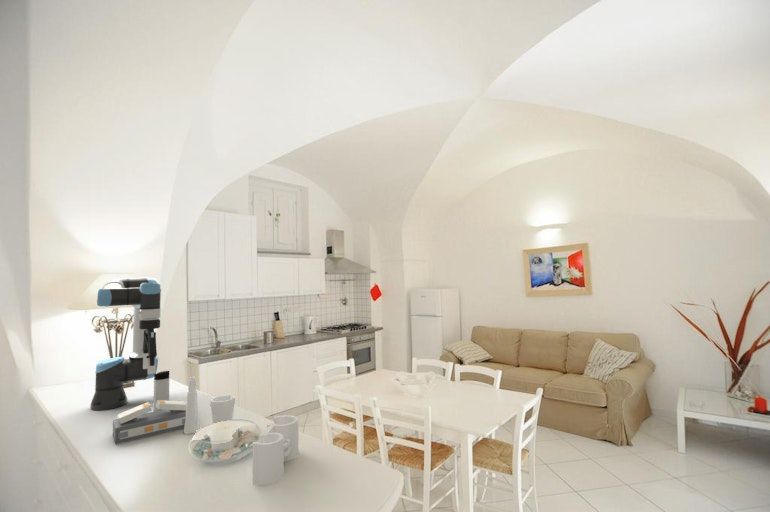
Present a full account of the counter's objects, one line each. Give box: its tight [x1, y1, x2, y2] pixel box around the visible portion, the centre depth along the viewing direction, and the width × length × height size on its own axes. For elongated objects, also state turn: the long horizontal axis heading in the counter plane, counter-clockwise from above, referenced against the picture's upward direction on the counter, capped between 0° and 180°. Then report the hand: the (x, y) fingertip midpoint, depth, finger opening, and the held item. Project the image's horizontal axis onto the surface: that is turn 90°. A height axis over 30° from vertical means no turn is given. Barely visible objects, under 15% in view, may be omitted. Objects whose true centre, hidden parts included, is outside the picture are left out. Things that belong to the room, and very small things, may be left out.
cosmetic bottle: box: [183, 376, 200, 435], centre depth 157 cm, size 6×6×22 cm
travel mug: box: [152, 370, 170, 412], centre depth 178 cm, size 6×7×20 cm
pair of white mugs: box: [252, 414, 300, 487], centre depth 126 cm, size 25×10×12 cm, turn 178°
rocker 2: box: [156, 400, 187, 410], centre depth 163 cm, size 6×11×3 cm, turn 129°
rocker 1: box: [117, 401, 153, 424], centre depth 155 cm, size 6×11×3 cm, turn 129°
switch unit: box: [112, 410, 186, 445], centre depth 158 cm, size 12×27×7 cm, turn 129°
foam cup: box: [209, 394, 236, 424], centre depth 157 cm, size 10×9×13 cm
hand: (149, 371), depth 159 cm, fingers open, 12 cm apart
